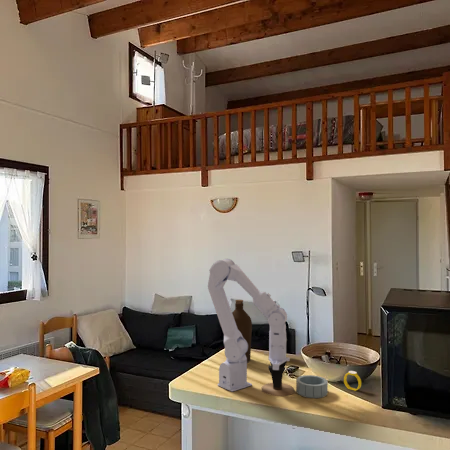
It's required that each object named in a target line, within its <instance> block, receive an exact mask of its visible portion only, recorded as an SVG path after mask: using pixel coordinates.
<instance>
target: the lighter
mask: <svg viewBox="0 0 450 450" xmlns="http://www.w3.org/2000/svg"><path fill="white" fill-rule="evenodd" d="M321 359H322V361H325V362H330V360H329V359H330V358H329V355H328V354H325V355H322V356H321ZM330 363H331V362H330Z"/></svg>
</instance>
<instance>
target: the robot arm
mask: <svg viewBox="0 0 450 450" xmlns="http://www.w3.org/2000/svg"><path fill="white" fill-rule="evenodd" d="M227 281H232V282H236V283H237V284H238V285H239V286H241V288H242V289H243V290H244V291H245V292H246V293H247V294H248V295H250V296H251V298H252V304H253V305H254V306H255V308H257V310H258V311H259V312H260V313H261V314H262V315H263V316H264V317H265V318H267V323H268V325H269V331H268V333H269V334H268V335H269V336H268V338H269V339H268V348H269V349H268V361H269V363H270V365H268V366H267V369H268V371H269V373H270V376H271V380H272V383H273V386H274V387H275V388H280V386H281V381H282V382H283V375H284V372H285V370H286V365H287V364H288V363H287V362H290V359H291V358H290V357H287V341H286V338H287V330H286V329H287V326H286V322H287V320H288V314H287V312H286V310H285V309H284V308H282V307H281V305H279V304H277V303H276V302H275V301H274V300H273V298H272V297H271V296H272V295H271V294H270V293H269V292H268V293H267V292H266V291H260V290H259V289H258V288H257V286H256V285H255V284H254V283H253V281H252V280H251V279H250V278H249V276H247V275H246V273H245V272H244V271H243V270H242V269H241V267H240V266H239V265H238V264H235V261H234V260H232V259H230V258H224V259H219V260H215V261H214V262H213V264H212V265H211V266H210V269H209V276H208V282H207V289H208V292H209V294H210V297H211V301H212V304H213V306H214V309H215V312H216V314H217V318H218V322H219V325H220V327H221V330H222V333H223V346H224V356H225V358H226V359H225V361H223V362H222V363H220V365H219V367H218V369H219V370H218V383H217V386H218V387H221V388H223V389H225V390H228V391H230V392H235V391H239V390H243V389H245V388H248V387H252V386H253V384H252V383H251V382H248V362H247V357H246V355H245V353H246V352H247V350H248V343H247V341H246V340H245V339H244V338H243V336H242V334H241V332H240V331H239V330H238V329H237V326H236V323H235V320H234V317H233V314H232V312H233V311H232V309H231V306H230V303H229V300H228V296H227V294H226V291H225V288H224V287H225V285H226V283H227Z"/></svg>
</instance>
